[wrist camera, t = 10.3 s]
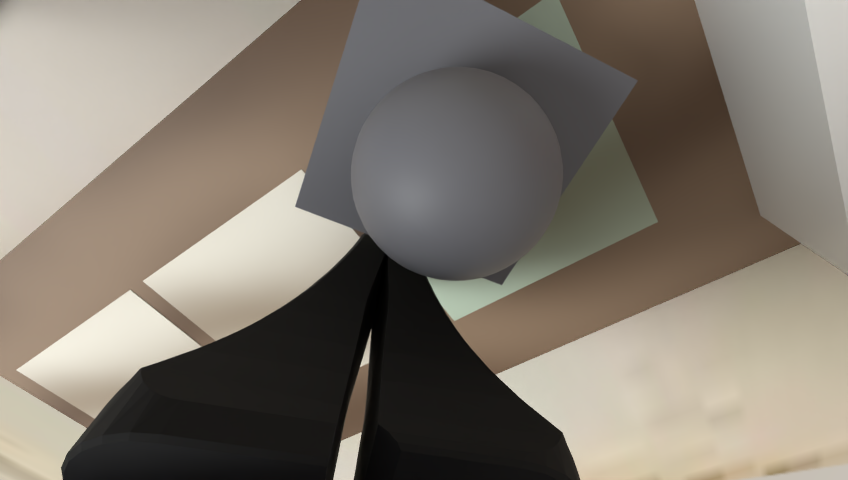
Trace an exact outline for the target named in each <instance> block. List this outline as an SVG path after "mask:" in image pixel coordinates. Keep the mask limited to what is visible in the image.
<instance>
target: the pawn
mask: <svg viewBox="0 0 848 480" xmlns="http://www.w3.org/2000/svg"><path fill="white" fill-rule="evenodd" d="M637 81H638V80H636V79H634V78H632V77H630V76H628V75H626V74H624V73H622V72H621V71H619V70H617V69H615V68H613V67H611V66H609V65H607V64H605V63H603V62H601V61H599V60H597V59H596V58H594V57H592V56H590V55H588V54H586V53H584V52H582V51H580V50H578V49H576V48H574V47H572V46H570V45H569V44H567V43H565V42H563V41H561V40H559V39H557V38H555V37H553V36H551V35H549V34H547V33H545V32H544V31H542V30H540V29H538V28H536V27H534V26H532V25H530V24H528V23H526V22H524V21H522V20H520V19H518V18H517V17H515V16H513V15H511V14H509V13H507V12H505V11H503V10H501V9H499V8H497V7H495V6H493V5H492V4H490V3H488V2H486V1H484V0H359V3H358V6H357V9H356V13H355V16H354V19H353V22H352V25H351V29H350V32H349V35H348V38H347V42H346V45H345V48H344V51H343V54H342V58H341V61H340V64H339V67H338V70H337V74H336V77H335V80H334V83H333V86H332V90H331V93H330V96H329V99H328V102H327V106H326V109H325V112H324V115H323V119H322V122H321V125H320V128H319V131H318V135H317V138H316V141H315V144H314V147H313V151H312V154H311V157H310V160H309V163H308V167H307V170H306V173H305V176H304V179H303V183H302V186H301V189H300V192H299V196H298V199H297V202H296V205H295V207H297V208H299V209H302V210H305V211H307V212H310V213H313V214H315V215H318V216H321V217H323V218H326V219H328V220H331V221H334V222H336V223H339V224H342V225H344V226H347V227H350V228H352V229H355V230H357V231H360V232H363V233H365V234H368V235H369V236H370V237H371V238H372V239H373V241H374V242H375V243H376V244H377V246H378V247H379V248H380V249H381V250H382V251H383V252H384V253H385V254H387V255H388V256H389V257H390V258H391V259H393V260H394V261H395V262H397V263H398V264H400V265H401V266H403V267H405V268H406V269H408V270H411V271H413V272H415V273H418V274H420V275H423V276H427V277H430V278H434V279H440V280H448V281H465V280H472V279H478V278H484V279H487V280H489V281H492V282H494V283H497V284H500V285H502V284H503V283H504V281H505V280H506V278H507V277H508V275H509V274H510V272H511V271H512V269H513V268H514V266H515V265H516V263H517V262H518V260H519V259H521V258H522V257H523V256H524V255H526V254H527V253H528V252H529V251H530V250H531V249H532V248H533V247H534V246H535V245H536V244H537V243H538V241H539V240H540V239H541V237H542V236H543V235H544V233H545V231H546V230H547V228H548V226H549V225H550V223H551V221H552V219H553V217H554V215H555V212H556V210H557V207H558V203H559V200H560V197H561V195H562V194H563V192H564V191H565V189H566V188H567V186H568V185H569V183H570V182H571V180H572V179H573V177H574V176H575V174H576V173H577V171H578V170H579V168H580V167H581V165H582V164H583V162H584V161H585V159H586V158H587V156H588V155H589V153H590V152H591V150H592V149H593V147H594V146H595V144H596V143H597V141H598V140H599V138H600V137H601V135H602V134H603V132H604V131H605V129H606V128H607V126H608V125H609V123H610V122H611V120H612V119H613V117H614V116H615V114H616V113H617V111H618V110H619V108H620V107H621V105H622V104H623V102H624V101H625V99H626V98H627V96H628V95H629V93H630V92H631V90H632V89H633V87H634V86H635V84H636V83H637Z"/></svg>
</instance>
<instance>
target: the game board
mask: <svg viewBox="0 0 848 480" xmlns="http://www.w3.org/2000/svg"><path fill="white" fill-rule="evenodd" d="M484 1H486V2H488V3H490V4H492V5H493V6H495V7H497V8H499V9H501V10H503V11H505V12H507V13H509V14H511V15H513V16H515V17H517V18H518V19H520V20H522V21H524V22H526V23H528V24H530V25H532V26H534V27H536V28H538V29H540V30H542V31H544V32H545V33H547V34H549V35H551V36H553V37H555V38H557V39H559V40H561V41H563V42H565V43H567V44H569V45H570V46H572V47H574V48H576V49H578V50H580V51H582V52H584V53H586V54H588V55H590V56H592V57H594V58H596V59H597V60H599V61H601V62H603V63H605V64H607V65H609V66H611V67H613V68H615V69H617V70H619V71H621V72H622V73H624V74H626V75H628V76H630V77H632V78H634V79H636V80H638V81H637V83H636V84H635V86H634V87H633V89H632V90H631V92H630V93H629V95H628V96H627V98H626V99H625V101H624V102H623V104H622V105H621V107H620V108H619V110H618V111H617V113H616V114H615V116H614V117H613V119H612V120H611V122H610V123H609V125H608V126H607V128H606V129H605V131H604V132H603V134H602V135H601V137H600V138H599V140H598V141H597V143H596V144H595V146H594V147H593V149H592V150H591V152H590V153H589V155H588V156H587V158H586V159H585V161H584V162H583V164H582V165H581V167H580V168H579V170H578V171H577V173H576V174H575V176H574V177H573V179H572V180H571V182H570V183H569V185H568V186H567V188H566V189H565V191H564V192H563V194H562V195H561V197H560V200H559V203H558V207H557V210H556V212H555V215H554V217H553V219H552V221H551V223H550V225H549V226H548V228H547V230H546V231H545V233H544V235H543V236H542V237H541V239H540V240H539V241H538V243H537V244H536V245H535V246H534V247H533V248H532V249H531V250H530V251H529V252H528V253H527V254H526V255H524V256H523V257H522V258H521V259H519V260H518V262H517V263H516V265H515V266H514V268H513V269H512V271H511V272H510V274H509V275H508V277H507V278H506V280H505V281H504V283H503V284H502V285H500V284H497V283H494V282H492V281H489V280H487V279H484V278H478V279H472V280H465V281H448V280H440V279H434V278H430V277H427V278H428V281H429V283H430V285H431V287H432V289H433V291H434V293H435V295H436V297H437V298H438V300H439V302H440V304H441V305H442V307H443V309H444V311H445V312H446V314H447V315H448V317H449V319H450V320H451V322H452V323H453V325H454V326H455V328H456V329H457V330H458V332H459V333H460V335H461V336H462V337H463V339H464V340H465V341H466V343H467V344H468V345H469V346H470V347H471V349H472V350H473V351H474V352H475V353H476V354H477V355H478V357H479V358H480V359H481V360H482V361H483V362H484V363H485V364H486V365H487V367H488V368H489V369H490V370H491V371H492V372H493V373H494V374H498V373H500V372H502V371H505V370H507V369H509V368H512V367H514V366H516V365H519V364H521V363H523V362H526V361H528V360H530V359H533V358H535V357H537V356H540V355H542V354H544V353H547V352H549V351H551V350H554V349H556V348H558V347H561V346H563V345H565V344H568V343H570V342H572V341H575V340H577V339H579V338H582V337H584V336H586V335H589V334H591V333H593V332H596V331H598V330H600V329H603V328H605V327H607V326H610V325H612V324H614V323H617V322H619V321H621V320H624V319H626V318H628V317H631V316H633V315H635V314H638V313H640V312H642V311H645V310H647V309H649V308H652V307H654V306H656V305H659V304H661V303H663V302H666V301H668V300H670V299H673V298H675V297H677V296H680V295H682V294H684V293H687V292H689V291H691V290H694V289H696V288H698V287H701V286H703V285H705V284H708V283H710V282H712V281H715V280H717V279H719V278H722V277H724V276H726V275H729V274H731V273H733V272H736V271H738V270H740V269H743V268H745V267H747V266H750V265H752V264H754V263H757V262H759V261H761V260H764V259H766V258H768V257H771V256H773V255H775V254H778V253H780V252H782V251H785V250H787V249H789V248H792V247H794V246H796V245H799V244H801V243H800V242H798V241H797V240H795V239H794V238H793V237H791V236H790V235H788V234H787V233H785V232H784V231H782V230H781V229H779V228H778V227H776V226H775V225H774V224H772V223H771V222H769V221H768V220H766V219H765V218H763V217H762V216H760V212H759V209H758V206H757V203H756V199H755V196H754V193H753V190H752V186H751V183H750V180H749V176H748V173H747V170H746V167H745V163H744V160H743V157H742V154H741V150H740V147H739V144H738V141H737V137H736V134H735V131H734V128H733V124H732V121H731V118H730V115H729V111H728V108H727V105H726V102H725V98H724V95H723V92H722V89H721V85H720V82H719V79H718V76H717V72H716V69H715V66H714V63H713V59H712V56H711V53H710V49H709V46H708V43H707V40H706V36H705V33H704V30H703V27H702V23H701V20H700V17H699V14H698V10H697V7H696V4H695V1H694V0H484ZM358 3H359V0H301V1H300V2H299V3H297V4H296V5H295V6H294V7H293V8H292V9H290V10H289V11H288V12H287V13H286V14H285V15H283V16H282V17H281V18H280V19H279V20H278V21H277V22H275V23H274V24H273V25H272V26H271V27H270V28H268V29H267V30H266V31H265V32H264V33H263V34H261V35H260V36H259V37H258V38H257V39H256V40H255V41H253V42H252V43H251V44H250V45H249V46H248V47H246V48H245V49H244V50H243V51H242V52H241V53H240V54H238V55H237V56H236V57H235V58H234V59H233V60H231V61H230V62H229V63H228V64H227V65H226V66H224V67H223V68H222V69H221V70H220V71H219V72H218V73H216V74H215V75H214V76H213V77H212V78H211V79H209V80H208V81H207V82H206V83H205V84H204V85H202V86H201V87H200V88H199V89H198V90H197V91H196V92H194V93H193V94H192V95H191V96H190V97H189V98H187V99H186V100H185V101H184V102H183V103H182V104H181V105H179V106H178V107H177V108H176V109H175V110H174V111H172V112H171V113H170V114H169V115H168V116H167V117H165V118H164V119H163V120H162V121H161V122H160V123H159V124H157V125H156V126H155V127H154V128H153V129H152V130H150V131H149V132H148V133H147V134H146V135H145V136H143V137H142V138H141V139H140V140H139V141H138V142H137V143H135V144H134V145H133V146H132V147H131V148H130V149H128V150H127V151H126V152H125V153H124V154H123V155H121V156H120V157H119V158H118V159H117V160H116V161H115V162H113V163H112V164H111V165H110V166H109V167H108V168H106V169H105V170H104V171H103V172H102V173H101V174H100V175H98V176H97V177H96V178H95V179H94V180H93V181H91V182H90V183H89V184H88V185H87V186H86V187H84V188H83V189H82V190H81V191H80V192H79V193H78V194H76V195H75V196H74V197H73V198H72V199H71V200H69V201H68V202H67V203H66V204H65V205H64V206H62V207H61V208H60V209H59V210H58V211H57V212H56V213H54V214H53V215H52V216H51V217H50V218H49V219H47V220H46V221H45V222H44V223H43V224H42V225H41V226H39V227H38V228H37V229H36V230H35V231H34V232H32V233H31V234H30V235H29V236H28V237H27V238H25V239H24V240H23V241H22V242H21V243H20V244H19V245H17V246H16V247H15V248H14V249H13V250H12V251H10V252H9V253H8V254H7V255H6V256H5V257H3V258H2V259H1V260H0V376H2V377H3V378H5V379H7V380H8V381H10V382H12V383H13V384H15V385H16V386H18V387H20V388H21V389H23V390H25V391H26V392H28V393H30V394H31V395H33V396H35V397H36V398H38V399H40V400H41V401H43V402H45V403H46V404H48V405H50V406H51V407H53V408H55V409H56V410H58V411H60V412H61V413H63V414H64V415H66V416H68V417H69V418H71V419H73V420H74V421H76V422H78V423H79V424H81V425H83V426H84V427H86V428H88V427H89V425H90V424H91V423H92V422H93V420H94V419H95V418H96V417H97V415H98V414H99V413H100V412H101V410H102V409H103V408H104V407H105V405H106V404H107V403H108V402H109V401H110V400H111V399H112V397H113V396H114V395H115V394H116V393H117V392H118V391H119V390H120V389H121V388H122V387H123V386H124V385H125V384H126V383H127V382H128V381H129V380H130V379H131V378H132V377H133V376H134V375H135V374H136V372H137V371H138V370H139V369H140V368H142V367H145V366H149V365H152V364H155V363H158V362H161V361H163V360H166V359H169V358H172V357H175V356H178V355H180V354H183V353H186V352H189V351H192V350H195V349H197V348H200V347H202V346H205V345H207V344H210V343H212V342H214V341H217V340H219V339H221V338H224V337H226V336H228V335H230V334H233V333H235V332H237V331H239V330H241V329H243V328H245V327H247V326H249V325H251V324H253V323H255V322H257V321H259V320H260V319H262V318H264V317H265V316H267V315H269V314H270V313H272V312H274V311H276V310H277V309H279V308H281V307H282V306H284V305H285V304H287V303H288V302H290V301H291V300H293V299H294V298H296V297H297V296H298V295H300V294H301V293H302V292H304V291H305V290H306V289H308V288H309V287H310V286H312V285H313V284H314V283H315V282H316V281H318V280H319V279H320V278H321V277H322V276H323V275H325V274H326V273H327V272H328V271H329V270H330V269H331V268H333V267H334V266H335V265H336V264H337V263H338V262H339V261H340V260H341V259H342V258H343V257H344V256H345V255H346V254H347V252H348V251H349V250H350V249H351V248H352V247H353V246H354V245H355V243H356V242H357V241H358V239H359V238H360V236H361V235H362V234H364V233H363V232H360V231H357V230H355V229H352V228H350V227H347V226H344V225H342V224H339V223H336V222H334V221H331V220H328V219H326V218H323V217H321V216H318V215H315V214H313V213H310V212H307V211H305V210H302V209H299V208H297V207H295V205H296V202H297V199H298V196H299V192H300V189H301V186H302V183H303V179H304V176H305V173H306V170H307V167H308V163H309V160H310V157H311V154H312V151H313V147H314V144H315V141H316V138H317V135H318V131H319V128H320V125H321V122H322V119H323V115H324V112H325V109H326V106H327V102H328V99H329V96H330V93H331V90H332V86H333V83H334V80H335V77H336V74H337V70H338V67H339V64H340V61H341V58H342V54H343V51H344V48H345V45H346V42H347V38H348V35H349V32H350V29H351V25H352V22H353V19H354V16H355V13H356V9H357V6H358ZM370 341H371V332H370V335H369V339H368V342H367V345H366V349H365V352H364V355H363V359H362V362H361V365H360V369H359V372H358V375H357V379H356V382H355V385H354V389H353V392H352V395H351V399H350V402H349V406H348V410H347V414H346V418H345V423H344V428H343V433H342V438H341V440H344V439H346V438H348V437H351V436H353V435H355V434H358V433H360V432H362V429H363V423H364V415H365V407H366V395H367V382H368V368H369V355H370Z"/></svg>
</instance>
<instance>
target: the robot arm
mask: <svg viewBox="0 0 848 480" xmlns="http://www.w3.org/2000/svg"><path fill="white" fill-rule="evenodd" d="M370 332H371V341H370V355H369V368H368V382H367V395H366V407H365V415H364V423H363V429H362V435H361V441H360V447H359V452H358V458H357V464H356V470H355V476H354V480H580V478H579V474H578V471H577V468H576V466H575V463H574V460H573V457H572V455H571V453H570V450H569V448H568V446H567V443H566V441H565V438H564V435H563V433H562V432H561V431H560V430H559V429H557V428H556V427H555V426H554V425H552V424H551V423H550V422H549V421H547V420H546V419H545V418H544V417H542V416H541V415H540V414H539V413H537V412H536V411H535V410H534V409H533V408H531V407H530V406H529V405H528V404H526V403H525V402H524V401H523V400H522V399H520V398H519V397H518V396H517V395H516V394H515V393H514V392H513V391H512V390H511V389H510V388H509V387H508V386H506V385H505V384H504V383H503V382H502V381H501V380H500V379H499V378H498V377H497V376H496V375H495V374H494V373H493V372H492V371H491V370H490V369H489V368H488V367H487V365H486V364H485V363H484V362H483V361H482V360H481V359H480V358H479V357H478V355H477V354H476V353H475V352H474V351H473V350H472V349H471V347H470V346H469V345H468V344H467V343H466V341H465V340H464V339H463V337H462V336H461V335H460V333H459V332H458V330H457V329H456V328H455V326H454V325H453V323H452V322H451V320H450V319H449V317H448V315H447V314H446V312H445V311H444V309H443V307H442V305H441V304H440V302H439V300H438V298H437V297H436V295H435V293H434V291H433V289H432V287H431V285H430V283H429V281H428V278H427V276H423V275H420V274H418V273H415V272H413V271H411V270H408V269H406V268H405V267H403V266H401V265H400V264H398V263H397V262H395V261H394V260H393V259H391V258H390V257H389V256H388V255H387V254H385V253H384V252H383V251H382V250H381V249H380V248H379V247H378V246H377V244H376V243H375V242H374V241H373V239H372V238H371V237H370V236H369V235H368V234H365V233H364V234H362V235H361V236H360V238H359V239H358V241H357V242H356V243H355V245H354V246H353V247H352V248H351V249H350V250H349V251H348V252H347V254H346V255H345V256H344V257H343V258H342V259H341V260H340V261H339V262H338V263H337V264H336V265H335V266H334V267H333V268H331V269H330V270H329V271H328V272H327V273H326V274H325V275H323V276H322V277H321V278H320V279H319V280H318V281H316V282H315V283H314V284H313V285H312V286H310V287H309V288H308V289H306V290H305V291H304V292H302V293H301V294H300V295H298V296H297V297H296V298H294V299H293V300H291V301H290V302H288V303H287V304H285V305H284V306H282V307H281V308H279V309H277V310H276V311H274V312H272V313H270V314H269V315H267V316H265V317H264V318H262V319H260V320H259V321H257V322H255V323H253V324H251V325H249V326H247V327H245V328H243V329H241V330H239V331H237V332H235V333H233V334H230V335H228V336H226V337H224V338H221V339H219V340H217V341H214V342H212V343H210V344H207V345H205V346H202V347H200V348H197V349H195V350H192V351H189V352H186V353H183V354H180V355H178V356H175V357H172V358H169V359H166V360H163V361H161V362H158V363H155V364H152V365H149V366H145V367H142V368H140V369H139V370H138V371H137V372H136V374H135V375H134V376H133V377H132V378H131V379H130V380H129V381H128V382H127V383H126V384H125V385H124V386H123V387H122V388H121V389H120V390H119V391H118V392H117V393H116V394H115V395H114V396H113V397H112V399H111V400H110V401H109V402H108V403H107V404H106V405H105V407H104V408H103V409H102V410H101V412H100V413H99V414H98V415H97V417H96V418H95V419H94V420H93V422H92V423H91V424H90V425H89V427H88V428H87V429H86V431H85V432H84V433H83V434H82V436H81V437H80V438H79V439H78V441H77V442H76V443H75V444H74V446H73V447H72V448H71V449H70V451H69V452H68V453H67V455H66V457H65V460H64V462H63V465H62V467H61V470H62V476H63V480H333V477H334V472H335V467H336V462H337V457H338V452H339V447H340V443H341V438H342V433H343V428H344V423H345V418H346V414H347V410H348V406H349V402H350V399H351V395H352V392H353V389H354V385H355V382H356V379H357V375H358V372H359V369H360V365H361V362H362V359H363V355H364V352H365V349H366V345H367V342H368V339H369V335H370Z"/></svg>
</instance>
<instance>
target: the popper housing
mask: <svg viewBox="0 0 848 480" xmlns="http://www.w3.org/2000/svg"><path fill="white" fill-rule="evenodd" d="M694 1H695V4H696V7H697V10H698V14H699V17H700V20H701V23H702V27H703V30H704V33H705V36H706V40H707V43H708V46H709V49H710V53H711V56H712V59H713V63H714V66H715V69H716V72H717V76H718V79H719V82H720V85H721V89H722V92H723V95H724V98H725V102H726V105H727V108H728V111H729V115H730V118H731V121H732V124H733V128H734V131H735V134H736V137H737V141H738V144H739V147H740V150H741V154H742V157H743V160H744V163H745V167H746V170H747V173H748V176H749V180H750V183H751V186H752V190H753V193H754V196H755V199H756V203H757V206H758V209H759V212H760V216H762V217H763V218H765V219H766V220H768V221H769V222H771V223H772V224H774V225H775V226H776V227H778V228H779V229H781V230H782V231H784V232H785V233H787V234H788V235H790V236H791V237H793V238H794V239H795V240H797V241H798V242H800V243H801V244H803V245H804V246H806V247H807V248H809V249H810V250H812V251H813V252H814V253H816V254H817V255H819V256H820V257H822V258H823V259H825V260H826V261H828V262H829V263H831V264H832V265H833V266H835V267H836V268H838V269H839V270H841V271H842V272H844V273H845V274H847V275H848V0H694Z"/></svg>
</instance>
